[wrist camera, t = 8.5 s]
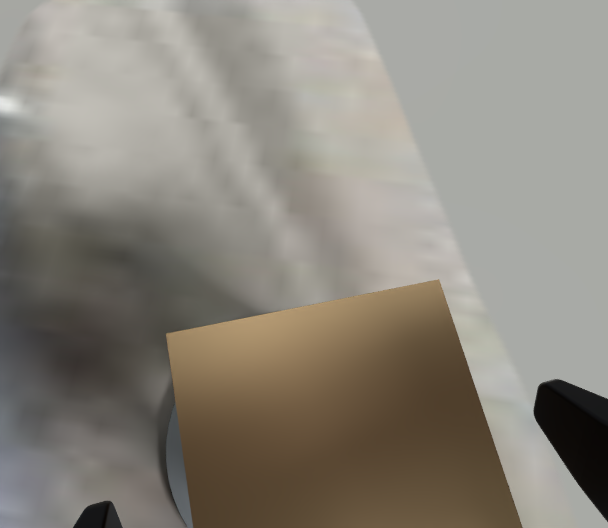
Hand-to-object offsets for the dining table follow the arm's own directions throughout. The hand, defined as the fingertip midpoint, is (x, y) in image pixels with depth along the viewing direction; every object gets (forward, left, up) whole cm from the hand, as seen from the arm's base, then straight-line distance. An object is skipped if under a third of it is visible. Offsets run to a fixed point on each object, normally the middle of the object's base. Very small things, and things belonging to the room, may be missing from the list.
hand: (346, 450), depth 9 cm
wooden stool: (0, 0, -10) cm, 10 cm away
